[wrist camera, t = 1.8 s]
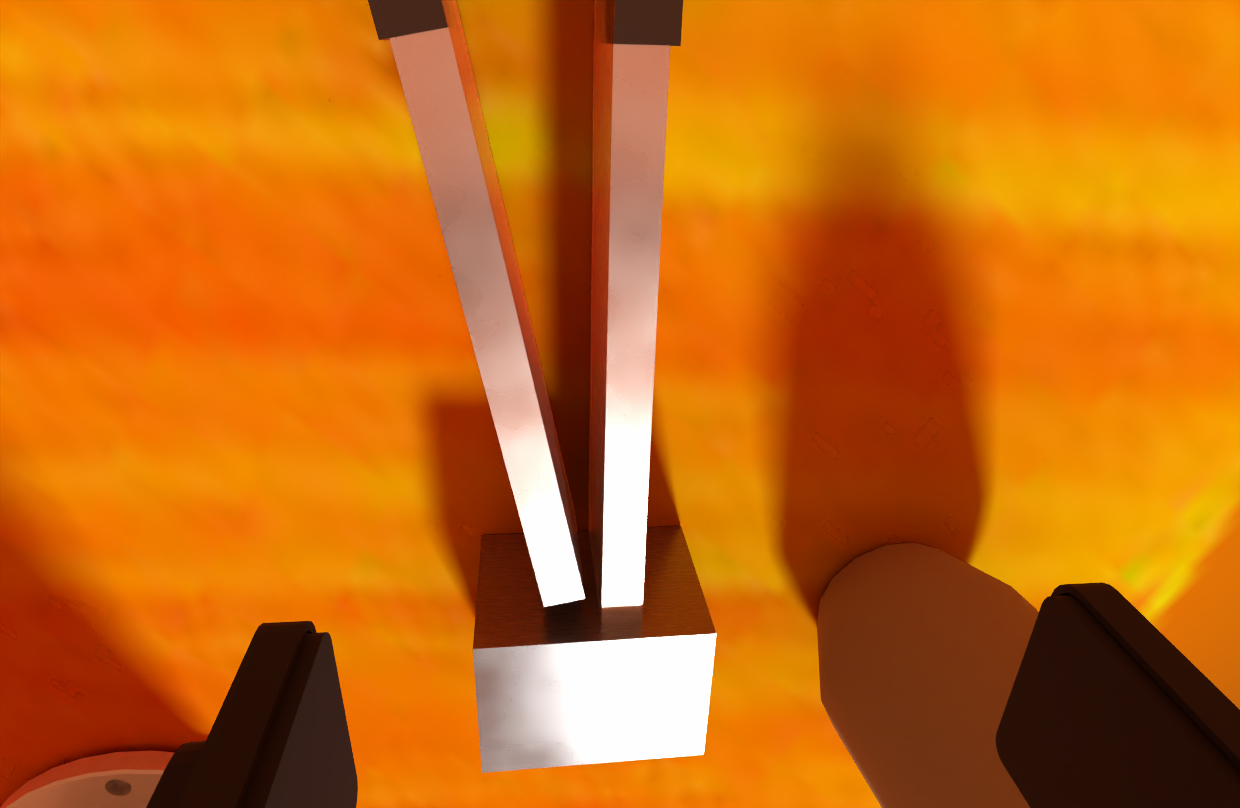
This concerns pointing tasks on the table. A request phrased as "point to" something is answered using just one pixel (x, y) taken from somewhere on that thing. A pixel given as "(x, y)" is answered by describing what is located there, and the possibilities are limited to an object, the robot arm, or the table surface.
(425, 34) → the tong arm
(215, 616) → the table surface
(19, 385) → the table surface
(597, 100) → the tong base
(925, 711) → the squeeze bottle
